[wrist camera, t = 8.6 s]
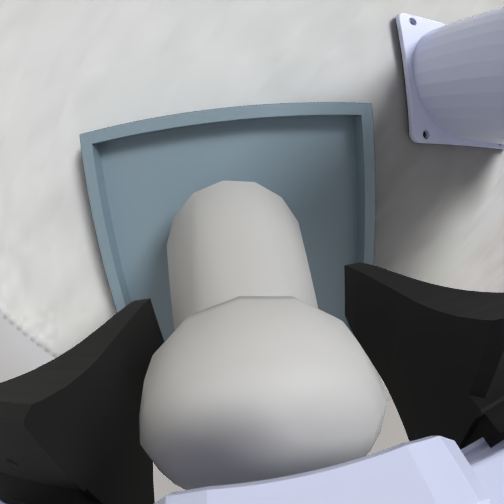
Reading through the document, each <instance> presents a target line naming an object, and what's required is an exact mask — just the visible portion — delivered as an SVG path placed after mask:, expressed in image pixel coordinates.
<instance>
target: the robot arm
mask: <svg viewBox="0 0 504 504" xmlns="http://www.w3.org/2000/svg"><path fill="white" fill-rule="evenodd" d="M409 20H411V21H412V23H413V25H412V24H411V23H410V21H409ZM396 23H397V29H398V34H399V40H400V46H401V53H402V60H403V67H404V75H405V84H406V94H407V105H408V119H409V135H410V138H411V140H412V141H413V142H416V143H430V144H448V145H463V146H475V147H485V148H495V149H504V7H503V8H499V9H496V10H492V11H489V12H485V13H482V14H478V15H475V16H472V17H469V18H466V19H462V20H459V21H456V22H454V23H451V24H448V25H447V24H444V23H441V22H437V21H434V20H430V19H426V18H423V17H419V16H415V15H411V14H407V13H400V14H398V15H397V16H396ZM424 131H425V133H426V137H425V138H424V137H423V132H424ZM344 275H345V317H346V319H347V321H348V323H349V326H350V328H351V330H352V332H353V334H354V336H355V338H356V339H357V341H358V342H359V344H360V345H361V347H362V348H363V350H364V351H365V353H366V355H367V356H368V358H369V359H370V361H371V362H372V364H373V366H374V367H375V369H376V370H377V372H378V373H379V375H380V376H381V378H382V380H383V381H384V383H385V385H386V387H387V389H388V391H389V393H390V395H391V397H392V399H393V401H394V404H395V406H396V408H397V410H398V413H399V415H400V418H401V420H402V423H403V425H404V428H405V430H406V433H407V436H408V439H409V441H410V442H406V443H402V444H399V445H396V446H394V447H391V448H388V449H385V450H382V451H380V452H377V453H374V454H371V455H368V456H364V457H361V458H358V459H355V460H351V461H348V462H344V463H341V464H337V465H334V466H330V467H326V468H322V469H318V470H313V471H309V472H305V473H300V474H295V475H290V476H285V477H279V478H274V479H268V480H261V481H254V482H247V483H238V484H229V485H218V486H207V487H202V488H196V489H190V490H184V491H178V492H173V493H171V494H169V495H167V496H165V497H164V498H162V499H160V500H159V501H157V502H156V503H155V502H154V488H153V461H152V460H151V458H150V457H149V456H148V454H147V453H146V451H145V450H144V449H143V447H142V446H141V444H140V426H139V413H140V406H141V399H142V392H143V385H144V379H145V376H146V373H147V370H148V367H149V364H150V361H151V358H152V355H153V354H154V353H155V352H156V351H157V350H158V349H159V348H160V347H161V345H162V344H163V343H164V339H163V336H162V333H161V330H160V327H159V324H158V321H157V318H156V315H155V312H154V309H153V306H152V302H151V299H150V298H149V299H142V300H135V301H133V302H131V303H129V304H128V305H127V306H125V307H124V308H123V309H121V310H120V311H119V312H118V313H117V314H115V315H114V316H113V317H112V318H111V319H109V320H108V321H107V322H106V323H105V324H103V325H102V326H101V327H100V328H98V329H97V330H96V331H95V332H93V333H92V334H91V335H89V336H88V337H87V338H85V339H84V340H83V341H82V342H80V343H79V344H77V345H76V346H75V347H73V348H72V349H70V350H69V351H67V352H65V353H64V354H62V355H61V356H59V357H57V358H56V359H54V360H52V361H50V362H48V363H46V364H44V365H42V366H40V367H39V368H37V369H35V370H32V371H30V372H28V373H25V374H23V375H21V376H18V377H16V378H13V379H10V380H8V381H5V382H2V383H0V504H504V293H491V292H476V291H467V290H459V289H453V288H448V287H443V286H438V285H434V284H430V283H426V282H423V281H419V280H416V279H413V278H409V277H406V276H403V275H400V274H397V273H394V272H391V271H388V270H386V269H383V268H380V267H377V266H373V265H370V264H366V263H361V262H359V263H354V264H349V265H344Z"/></svg>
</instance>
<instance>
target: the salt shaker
mask: <svg viewBox="0 0 504 504" xmlns="http://www.w3.org/2000/svg"><path fill="white" fill-rule="evenodd" d="M167 257H168V271H169V283H170V294H171V304H172V314H173V323H174V332H173V333H172V334H171V336H170V337H169V338H168V339H167V340H166V341H165V342H164V343H163V344H162V345H161V347H160V348H159V349H158V350H157V351H156V352H155V353H154V354H153V355H152V358H151V361H150V364H149V367H148V370H147V373H146V376H145V379H144V385H143V392H142V399H141V406H140V413H139V426H140V444H141V446H142V447H143V449H144V450H145V451H146V453H147V454H148V456H149V457H150V458H151V460H152V461H153V462H154V464H155V465H156V466H157V468H158V469H159V470H160V471H161V472H162V473H163V474H164V475H165V476H166V477H167V478H169V479H170V480H171V481H172V482H173V483H174V484H176V485H178V486H180V487H182V488H183V489H185V490H190V489H196V488H202V487H207V486H218V485H229V484H238V483H247V482H254V481H261V480H268V479H274V478H279V477H285V476H290V475H295V474H300V473H305V472H309V471H313V470H318V469H322V468H326V467H330V466H334V465H337V464H341V463H344V462H348V461H351V460H355V459H358V458H361V457H364V456H366V455H367V454H368V452H369V451H370V450H371V448H372V447H373V445H374V443H375V441H376V439H377V437H378V435H379V434H380V431H381V427H382V422H383V418H384V414H385V409H386V404H387V398H386V395H385V392H384V389H383V386H382V383H381V380H380V377H379V374H378V372H377V370H376V369H375V367H374V366H373V364H372V362H371V361H370V359H369V358H368V356H367V355H366V353H365V351H364V350H363V348H362V347H361V345H360V344H359V342H358V341H357V339H356V338H355V337H354V335H353V334H352V333H351V331H350V330H349V329H348V327H347V326H346V325H345V323H344V322H343V321H341V320H340V319H338V318H336V317H334V316H332V315H330V314H328V313H326V312H324V311H322V310H320V309H318V305H317V300H316V296H315V291H314V287H313V282H312V278H311V273H310V269H309V265H308V260H307V256H306V252H305V248H304V243H303V239H302V235H301V231H300V227H299V223H298V221H297V219H296V218H295V216H294V215H293V213H292V212H291V210H290V209H289V207H288V206H287V204H286V203H285V201H284V200H283V198H282V197H280V196H279V195H277V194H275V193H273V192H272V191H270V190H268V189H266V188H265V187H263V186H261V185H259V184H258V183H256V182H245V181H224V180H223V181H220V182H218V183H216V184H213V185H211V186H208V187H206V188H204V189H201V190H199V191H197V192H194V193H193V194H192V195H191V196H190V198H189V199H188V200H187V201H186V202H185V203H184V205H183V206H182V207H181V208H180V210H179V211H178V212H177V213H176V214H175V216H174V218H173V221H172V225H171V230H170V234H169V238H168V242H167Z"/></svg>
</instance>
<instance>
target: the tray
mask: <svg viewBox="0 0 504 504" xmlns="http://www.w3.org/2000/svg"><path fill="white" fill-rule="evenodd" d="M80 143H81V151H82V158H83V165H84V172H85V178H86V184H87V190H88V196H89V201H90V206H91V211H92V216H93V221H94V226H95V230H96V235H97V239H98V244H99V248H100V252H101V256H102V260H103V264H104V268H105V272H106V275H107V279H108V283H109V286H110V290H111V293H112V296H113V300H114V303H115V306H116V310H117V313H118V312H119V311H120V310H121V309H123V308H124V307H125V306H127V305H128V304H129V303H131V302H133V301H135V300H142V299H149V298H150V299H151V302H152V306H153V309H154V312H155V315H156V318H157V321H158V324H159V327H160V330H161V333H162V336H163V339H164V342H165V341H166V340H167V339H168V338H169V337H170V336H171V334H172V333H173V332H174V323H173V314H172V304H171V294H170V283H169V271H168V257H167V242H168V238H169V234H170V230H171V225H172V221H173V218H174V216H175V214H176V213H177V212H178V211H179V210H180V208H181V207H182V206H183V205H184V203H185V202H186V201H187V200H188V199H189V198H190V196H191V195H192V194H193V193H194V192H197V191H199V190H201V189H204V188H206V187H208V186H211V185H213V184H216V183H218V182H220V181H223V180H224V181H245V182H256V183H258V184H259V185H261V186H263V187H265V188H266V189H268V190H270V191H272V192H273V193H275V194H277V195H279V196H280V197H282V198H283V200H284V201H285V203H286V204H287V206H288V207H289V209H290V210H291V212H292V213H293V215H294V216H295V218H296V219H297V221H298V223H299V227H300V231H301V235H302V239H303V243H304V248H305V252H306V256H307V260H308V265H309V269H310V273H311V278H312V282H313V287H314V291H315V296H316V300H317V305H318V309H320V310H322V311H324V312H326V313H328V314H330V315H332V316H334V317H336V318H338V319H340V320H341V321H343V322H344V323H345V325H346V326H347V327H348V329H349V330H350V331H351V333H352V334H353V332H352V330H351V328H350V326H349V323H348V321H347V319H346V317H345V275H344V265H349V264H354V263H359V262H361V263H366V264H370V265H373V266H374V246H375V151H374V131H373V116H372V104H371V103H344V102H310V103H280V104H263V105H249V106H237V107H227V108H218V109H209V110H201V111H194V112H187V113H180V114H174V115H168V116H162V117H156V118H150V119H145V120H140V121H135V122H130V123H125V124H121V125H116V126H112V127H107V128H103V129H99V130H95V131H91V132H87V133H83V134H80ZM353 335H354V334H353ZM354 337H355V336H354Z"/></svg>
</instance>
